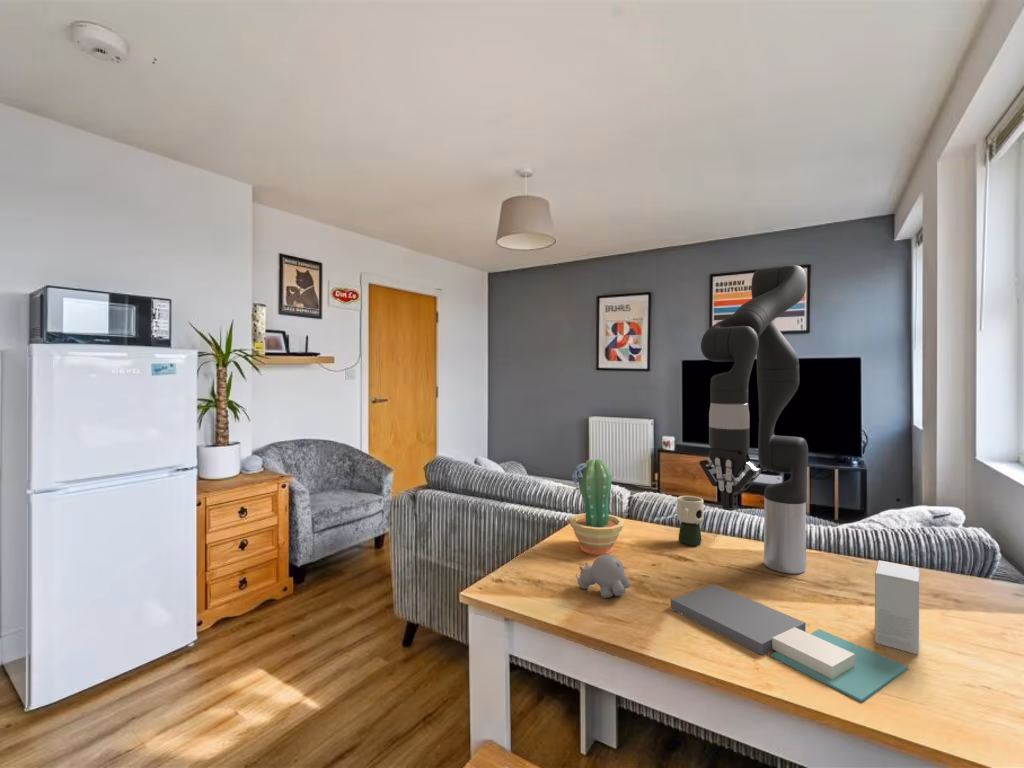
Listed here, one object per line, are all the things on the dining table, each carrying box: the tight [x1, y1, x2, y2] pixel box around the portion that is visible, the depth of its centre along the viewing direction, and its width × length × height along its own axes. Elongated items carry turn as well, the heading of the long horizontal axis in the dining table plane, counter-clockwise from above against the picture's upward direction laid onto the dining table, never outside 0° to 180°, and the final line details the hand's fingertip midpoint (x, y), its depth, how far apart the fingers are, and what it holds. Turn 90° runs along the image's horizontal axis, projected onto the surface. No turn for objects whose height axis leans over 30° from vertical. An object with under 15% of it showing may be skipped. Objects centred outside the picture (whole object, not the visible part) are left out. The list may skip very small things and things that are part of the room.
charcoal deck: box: [670, 583, 807, 656], centre depth 98 cm, size 14×20×2 cm
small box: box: [874, 559, 921, 655], centre depth 91 cm, size 8×6×13 cm
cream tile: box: [772, 627, 855, 679], centre depth 85 cm, size 7×10×2 cm
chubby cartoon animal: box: [575, 553, 631, 599], centre depth 111 cm, size 7×12×8 cm, turn 54°
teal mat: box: [770, 628, 909, 703], centre depth 84 cm, size 16×14×1 cm
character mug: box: [676, 495, 704, 546], centre depth 142 cm, size 11×7×13 cm, turn 147°
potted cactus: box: [569, 458, 625, 556], centre depth 138 cm, size 15×15×25 cm
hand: (728, 509), depth 101 cm, fingers closed
